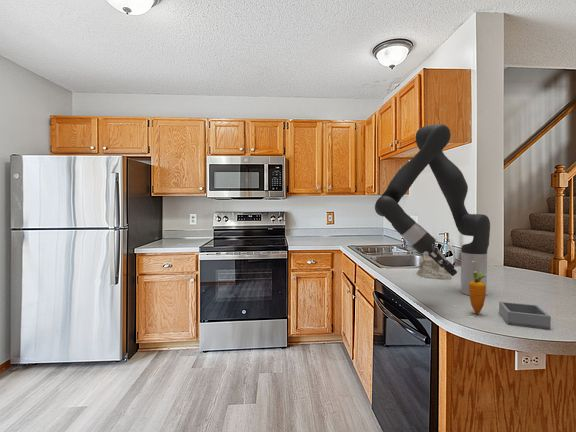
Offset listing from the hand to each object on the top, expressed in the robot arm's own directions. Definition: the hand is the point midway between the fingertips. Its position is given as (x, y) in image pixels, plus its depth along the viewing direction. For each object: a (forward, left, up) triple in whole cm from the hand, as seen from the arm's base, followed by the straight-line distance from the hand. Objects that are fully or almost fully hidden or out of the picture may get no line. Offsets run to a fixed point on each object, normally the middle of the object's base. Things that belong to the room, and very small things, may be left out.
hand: (453, 271), depth 106 cm
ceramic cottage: (-54, -3, -15) cm, 56 cm away
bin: (+1, +20, -14) cm, 24 cm away
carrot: (0, +7, -14) cm, 16 cm away
